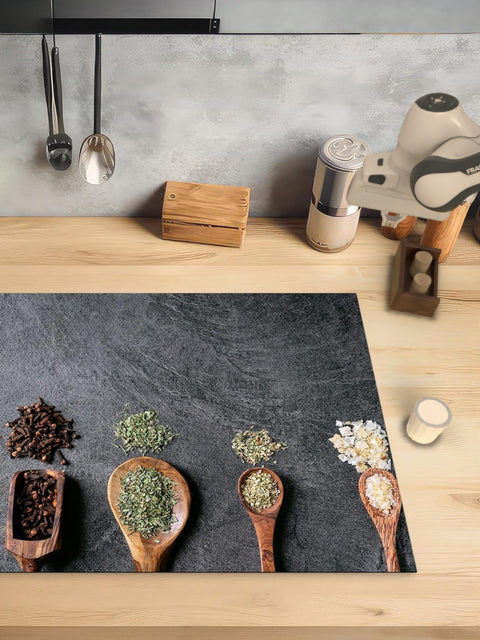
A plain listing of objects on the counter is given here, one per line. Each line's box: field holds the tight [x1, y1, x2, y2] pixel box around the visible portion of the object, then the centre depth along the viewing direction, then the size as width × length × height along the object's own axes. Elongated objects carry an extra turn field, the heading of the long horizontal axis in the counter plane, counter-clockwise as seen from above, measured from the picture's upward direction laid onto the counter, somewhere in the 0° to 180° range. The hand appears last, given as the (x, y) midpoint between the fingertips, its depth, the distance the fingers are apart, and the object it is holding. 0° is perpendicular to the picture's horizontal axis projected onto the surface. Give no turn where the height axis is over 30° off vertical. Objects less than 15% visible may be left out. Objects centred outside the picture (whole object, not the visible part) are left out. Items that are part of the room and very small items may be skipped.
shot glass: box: [406, 396, 453, 445], centre depth 139 cm, size 7×7×7 cm
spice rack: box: [389, 236, 443, 318], centre depth 161 cm, size 9×16×7 cm, turn 164°
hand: (388, 224), depth 152 cm, fingers closed
